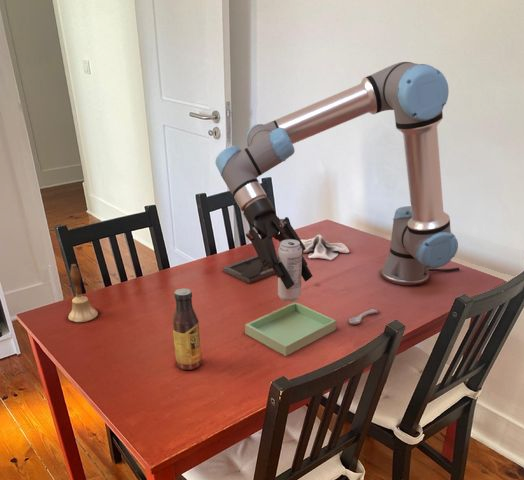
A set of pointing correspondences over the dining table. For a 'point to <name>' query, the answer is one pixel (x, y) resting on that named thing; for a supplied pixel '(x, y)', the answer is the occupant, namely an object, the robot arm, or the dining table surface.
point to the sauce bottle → (186, 331)
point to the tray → (290, 328)
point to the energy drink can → (290, 268)
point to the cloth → (323, 248)
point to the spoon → (358, 319)
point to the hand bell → (80, 301)
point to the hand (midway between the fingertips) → (299, 282)
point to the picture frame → (249, 269)
